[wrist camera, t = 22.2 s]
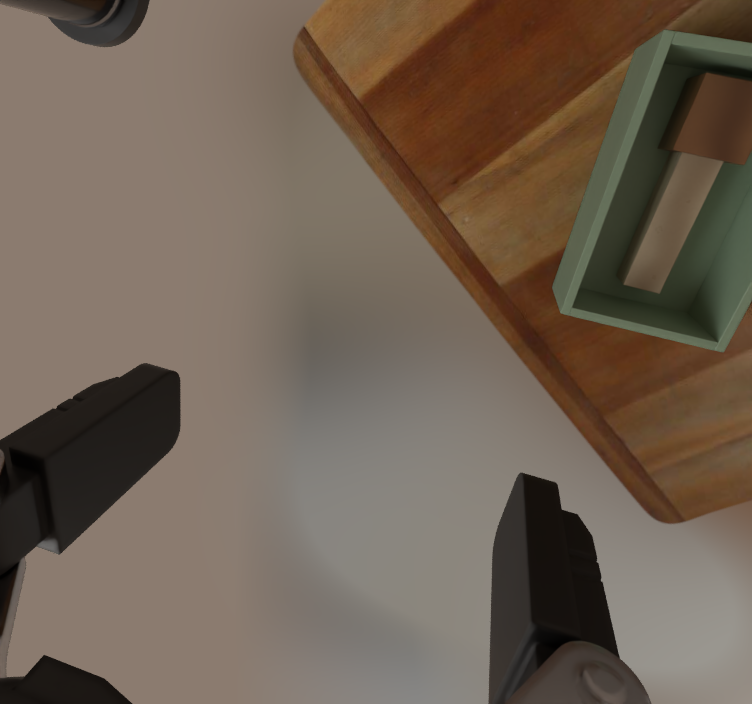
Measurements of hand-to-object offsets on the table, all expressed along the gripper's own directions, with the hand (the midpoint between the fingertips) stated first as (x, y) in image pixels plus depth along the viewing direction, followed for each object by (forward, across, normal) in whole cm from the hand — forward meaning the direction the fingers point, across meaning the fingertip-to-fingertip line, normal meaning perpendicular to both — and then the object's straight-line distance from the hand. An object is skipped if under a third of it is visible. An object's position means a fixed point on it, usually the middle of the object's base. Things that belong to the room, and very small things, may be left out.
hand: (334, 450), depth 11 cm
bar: (+38, -16, -5) cm, 41 cm away
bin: (+38, -16, -5) cm, 42 cm away
